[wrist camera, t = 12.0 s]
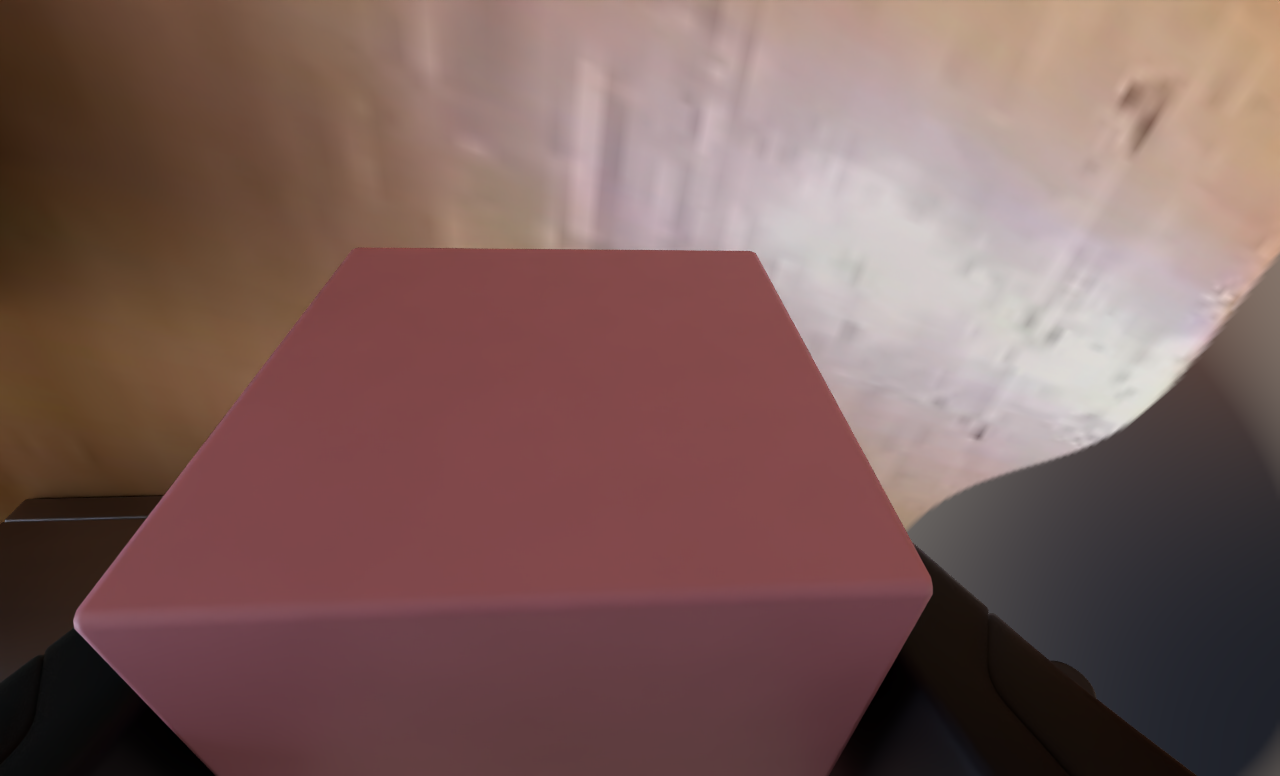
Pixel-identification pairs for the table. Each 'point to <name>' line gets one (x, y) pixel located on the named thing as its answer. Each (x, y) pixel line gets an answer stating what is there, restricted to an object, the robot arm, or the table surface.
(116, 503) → the cabinet
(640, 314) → the block
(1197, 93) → the table surface
